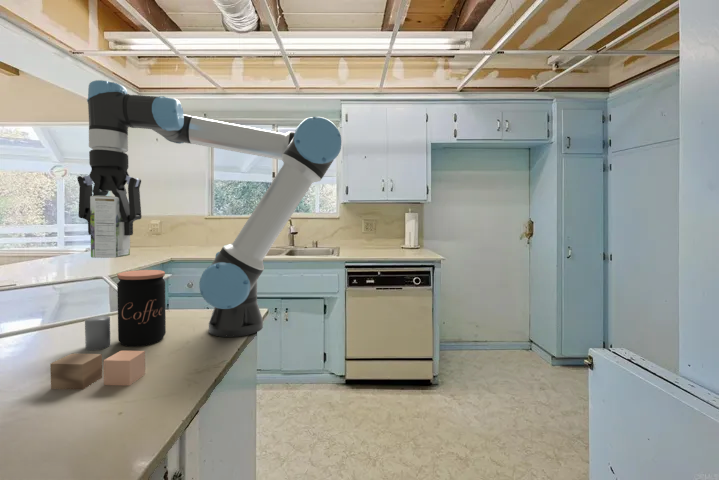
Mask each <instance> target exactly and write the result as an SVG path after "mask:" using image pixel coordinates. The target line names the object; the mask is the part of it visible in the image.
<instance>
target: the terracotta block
mask: <svg viewBox="0 0 719 480" xmlns="http://www.w3.org/2000/svg"><path fill="white" fill-rule="evenodd" d="M145 375H146V351H145V350H119V351H117V352H115V353H114V354H112V355H110V356H109V357H107V358H104V359H103V386H131V385H132V383H133V382H134V383H135V382H137V381H138V380H139V379H140V378H142V377H143V376H145ZM136 380H137V381H136ZM134 383H133V384H134Z"/></svg>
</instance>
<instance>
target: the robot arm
mask: <svg viewBox="0 0 719 480" xmlns="http://www.w3.org/2000/svg"><path fill="white" fill-rule="evenodd" d="M86 102H87V104H88V105H87V109H88V147H89V148H90V149H91V150H90V151H89V154H88V155H89V160H88V161H89V166H90V168H91V169H90V170H91V171H90V173H89V174H88V175H85V176H82V175H79V176H77V182H78V185H79V192H78V193H79V196H78V218H79V219H83V220H86V221H87V233H88V235H89V236H91V222H90V196H108V195H109V192H111V193H112V194H113V195H114V197H118V198H119V211H120V214H121V217H122V220H121V222H119V244H120V250H125V249H130V250H131V236H133V235H134V222H135V221H138V220H141V219H142V205H141V191H140V188H141V184H142V179H141V178H140V177H139V178H138V177H133V176H130V174H129V172H128V169H129V154H127V153H128V151H129V128H131V129H143V130H145V129H146V130H151V131H153V132H156V134H159V136H162V137H163V138H164V139H165V140H166V141H169V142H171V143H174V144H191V145H197V146H203V147H209V148H215V149H218V150H219V149H220V150H225V151H231V152H236V153H241V154H247V155H251V156H252V155H253V156H258V157H264V158H268V159H275V160H280V161H282V162H283V165H282V166H281V168H280V169H279V171H278V173H277V174H276V176H275V177H274V179H273V180H272V182H271V183H270V185H269V187H268V188H267V190H266V191H265V192H264V194H263V196H262V197H261V199H260V200H259V202H258V204H257V205H256V207H255V208H254V209H253V211H252V213H251V215H250V216H249V217H248V219H247V220H246V221H245V223H244V225H243V226H242V228H241V230H240V231H239V233H238V234H237V236H236V237H235V239H234V241H233V242H231V243H228V244H224V245H223V246H222V248H221V249H220V251H218V252H216V253H215V257H214V260H213V261H212V263H211V265H209V266H208V267H207V268H205V270H204V271H203V272H202V274H201V277H200V279H199V286H198V289H199V292H200V295H201V297H202V298H203V300H204V302H206V303H207V304H208V305H210V306H212V307H213V311H212V314H211V316H210V319H209V322H208V332H209V334H210V335H213V336H217V337H222V338H231V337H232V338H233V337H234V338H235V337H242V336H243V337H245V336H249V335H253V334H255V333H256V334H257V333H258V332H260V331H262V329H263V328H264V319H263V316H262V313H261V309H260V307H259V304H258V280H259V278H260V276H261V274H262V273H263V272H264V270H265V265H264V259H265V257H266V256H267V254H268V253H269V251H270V250H271V248H272V246H273V244H275V242H276V240H277V239H278V237H279V236H280V234H281V232H282V231H283V229H284V227H285V226H286V225H287V223H288V221H289V220H290V218H291V217H292V216H293V214H294V212H295V210H296V209H297V207H298V206H299V204H300V202H301V201H302V200H303V198H304V196H305V195H306V193H307V192H308V190H309V188H311V186H312V184H314V183H317V182H320V181H322V180H323V178H324V177H325V174H326V173H327V171H328V170H329V168H330V167H331V165H332V163H333V162H334V160H335V159H336V158H337V157H339V154H340V152H341V151H342V136H341V132H340V131H339V128H338V127H337V126H336V124H335V123H334V122H332V121H331V120H329V119H328V118H325V117H322V116H310V117H307V118H305V119H304V120H302V121H301V122H300V123H299V124H298V126H296V128H295V130H294V131H292V130H291V131H290V130H289V131H287V132H285V133H283V132H276V131H273V130H272V131H271V130H267V129H262V128H258V127H257V128H256V127H251V126H246V125H241V124H236V123H231V122H230V123H229V122H225V121H220V120H215V119H210V118H205V117H199V116H195V115H194V116H193V115H189V114H184V113H185V112H184V109H183V107H182V103H181V102H180V100H178V99H177V98H173V97H166V96H164V95H163V96H162V95H160V96H159V95H158V96H155V95H140V94H139V95H138V94H129V93H128V89H126V87H125V86H124V85H122V84H119V83H116V82H114V81H113V82H112V81H107V80H102V79H101V80H99V79H98V80H97V79H96V80H93V81H90V82H89V84H88V93H87V99H86ZM126 184H127V185H128V186H127V189H126ZM127 193H128V194H127ZM127 195H128V196H127ZM127 198H129V202H128V199H127Z"/></svg>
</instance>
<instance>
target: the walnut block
mask: <svg viewBox="0 0 719 480" xmlns="http://www.w3.org/2000/svg"><path fill="white" fill-rule="evenodd" d="M49 364H50V367H49V368H50V389H51V390H80V391H81V390H82V391H84V390H85V389H87V388H88V387H90V386H91V385H92V383H93V384H94V382H95V383H96V382H98V381H100V380H101V379H103V354H102V353H70V354H68V355H66V356H64V357H62V358H59V359H57V360H55V361H53V362H51V363H49ZM97 380H98V381H97ZM89 385H90V386H89Z"/></svg>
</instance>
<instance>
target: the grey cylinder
mask: <svg viewBox="0 0 719 480" xmlns="http://www.w3.org/2000/svg"><path fill="white" fill-rule="evenodd" d="M84 335H85V337H84V338H85V339H84V340H85V341H84V342H85V343H84V344H85V351H86V350H87V351H97V350H98V351H99V350H103V349H106V348H109V347H110V346H111V317H110V316H105V315H101V316H93V317H89V318H86V319H85V320H84Z"/></svg>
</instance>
